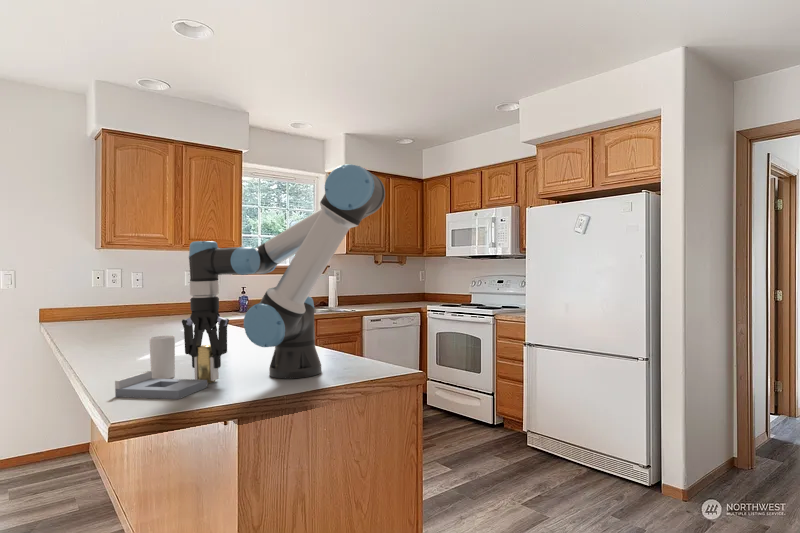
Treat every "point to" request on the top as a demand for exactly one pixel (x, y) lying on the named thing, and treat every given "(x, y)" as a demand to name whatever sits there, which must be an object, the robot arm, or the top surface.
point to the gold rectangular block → (204, 363)
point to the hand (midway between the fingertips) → (206, 379)
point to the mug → (162, 357)
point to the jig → (156, 387)
